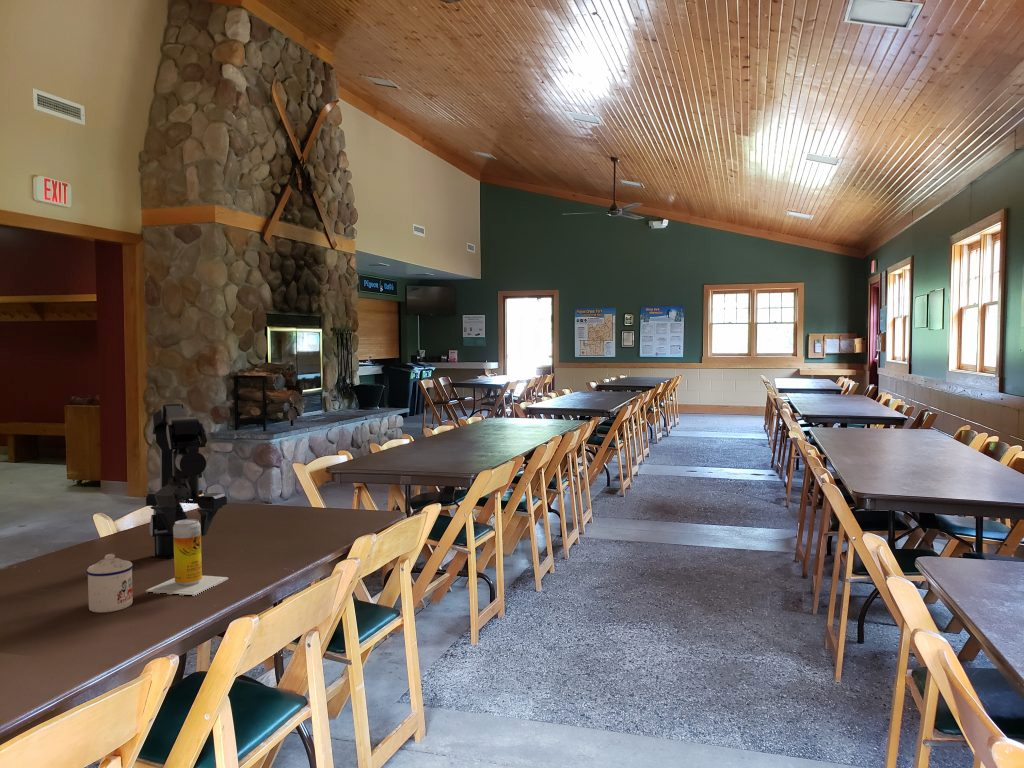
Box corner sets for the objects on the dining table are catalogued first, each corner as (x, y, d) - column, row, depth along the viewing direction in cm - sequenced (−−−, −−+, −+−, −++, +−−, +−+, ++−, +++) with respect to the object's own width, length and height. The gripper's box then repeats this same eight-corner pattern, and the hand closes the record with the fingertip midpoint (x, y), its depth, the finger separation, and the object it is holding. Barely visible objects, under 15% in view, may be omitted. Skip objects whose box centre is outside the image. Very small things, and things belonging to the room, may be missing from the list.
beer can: (191, 587, 174) (189, 525, 173) (169, 585, 175) (167, 523, 175) (207, 579, 180) (205, 519, 179) (186, 578, 181) (184, 518, 180)
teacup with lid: (125, 612, 159) (124, 559, 159) (80, 614, 158) (79, 561, 157) (143, 594, 171) (142, 545, 171) (101, 596, 169) (100, 547, 169)
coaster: (146, 592, 172) (146, 589, 172) (182, 575, 185) (182, 573, 185) (194, 596, 169) (194, 593, 169) (228, 579, 182) (228, 576, 182)
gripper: (127, 474, 170) (129, 541, 171) (198, 477, 166) (199, 545, 167) (161, 467, 181) (162, 529, 182) (227, 470, 177) (228, 533, 178)
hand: (187, 534), depth 177 cm, fingers open, 9 cm apart
